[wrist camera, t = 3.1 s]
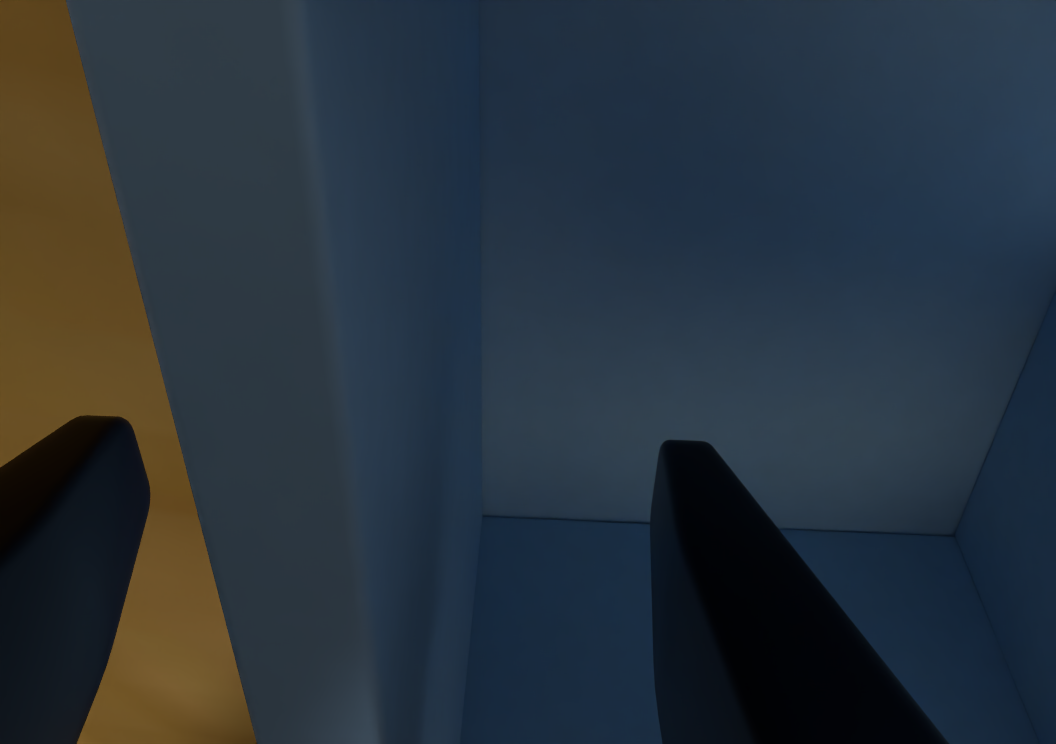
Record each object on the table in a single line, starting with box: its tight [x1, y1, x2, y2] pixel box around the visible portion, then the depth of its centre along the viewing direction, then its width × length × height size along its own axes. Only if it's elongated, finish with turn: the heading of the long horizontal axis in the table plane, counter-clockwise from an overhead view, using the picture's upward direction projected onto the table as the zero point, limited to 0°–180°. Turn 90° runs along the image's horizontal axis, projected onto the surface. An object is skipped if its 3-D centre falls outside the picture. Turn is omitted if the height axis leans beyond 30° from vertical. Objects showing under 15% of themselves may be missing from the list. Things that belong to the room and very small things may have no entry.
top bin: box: [66, 0, 1056, 744], centre depth 9 cm, size 12×9×8 cm
